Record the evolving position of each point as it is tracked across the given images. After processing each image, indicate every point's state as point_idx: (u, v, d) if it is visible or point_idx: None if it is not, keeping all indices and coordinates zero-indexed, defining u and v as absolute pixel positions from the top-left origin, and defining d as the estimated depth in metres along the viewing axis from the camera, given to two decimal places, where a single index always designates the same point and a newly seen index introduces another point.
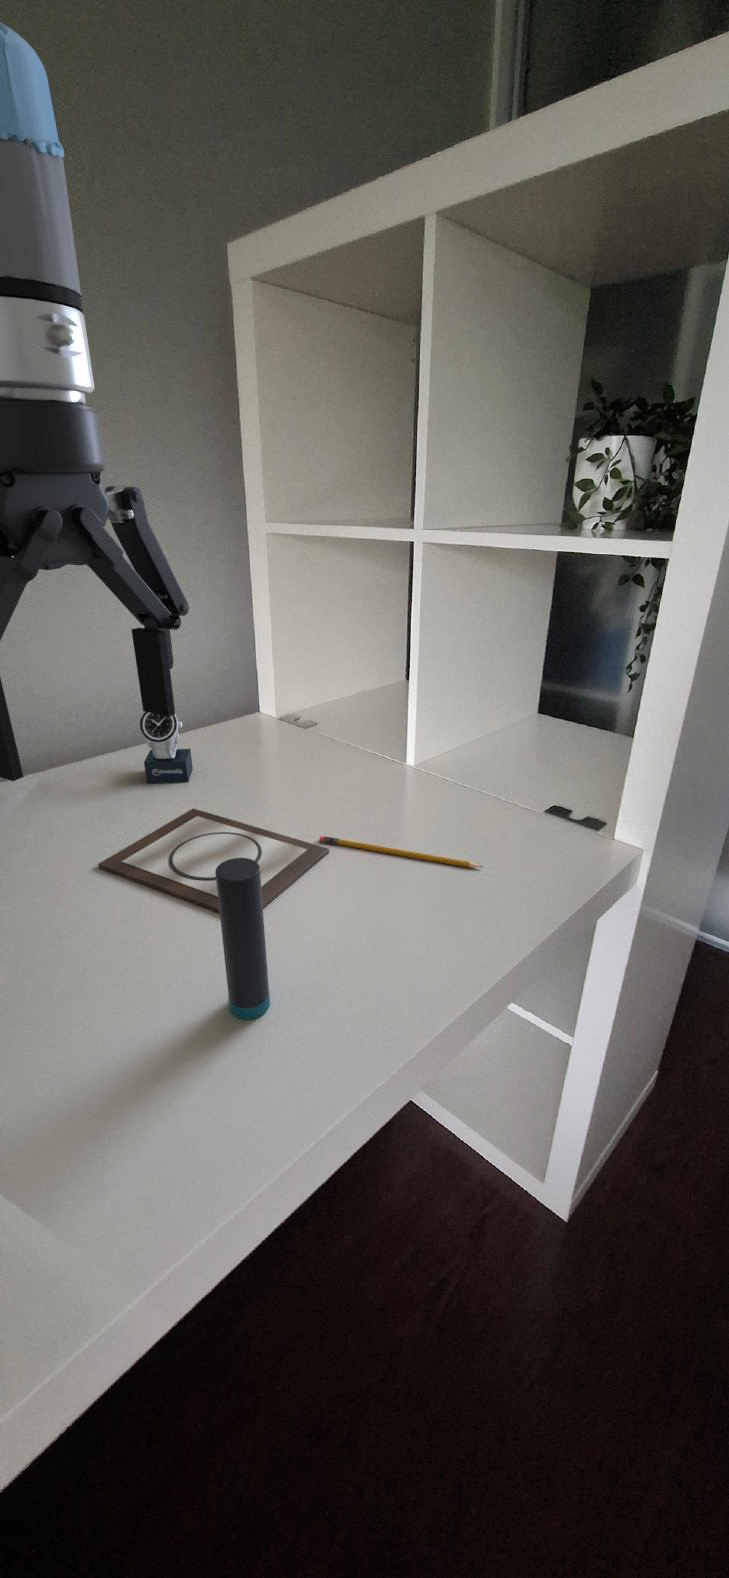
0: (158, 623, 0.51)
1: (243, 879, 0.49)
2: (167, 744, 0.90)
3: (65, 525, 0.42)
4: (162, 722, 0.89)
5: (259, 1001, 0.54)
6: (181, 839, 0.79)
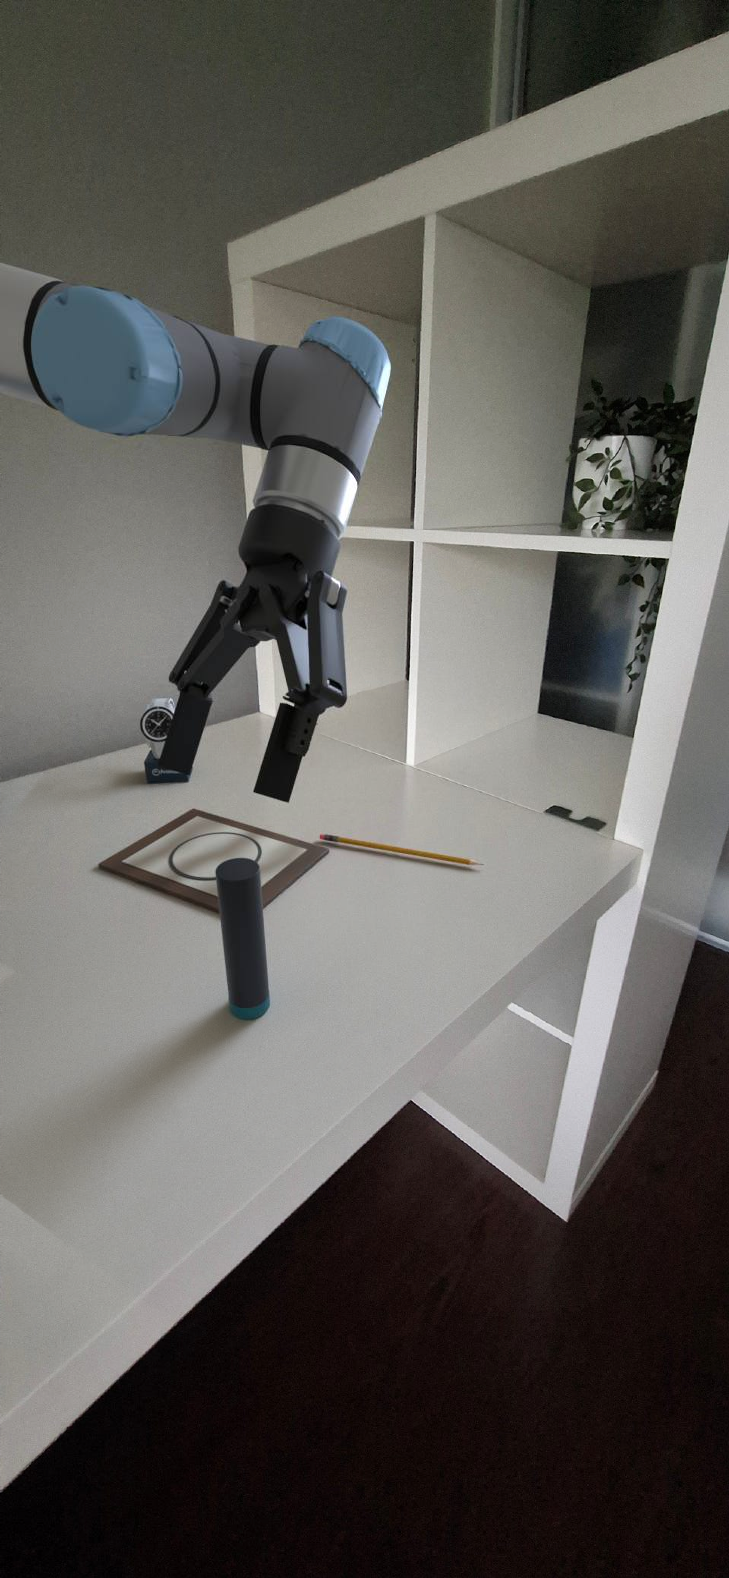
0: (206, 694, 0.59)
1: (243, 879, 0.49)
2: None
3: None
4: (162, 722, 0.89)
5: (259, 1001, 0.54)
6: (181, 839, 0.79)
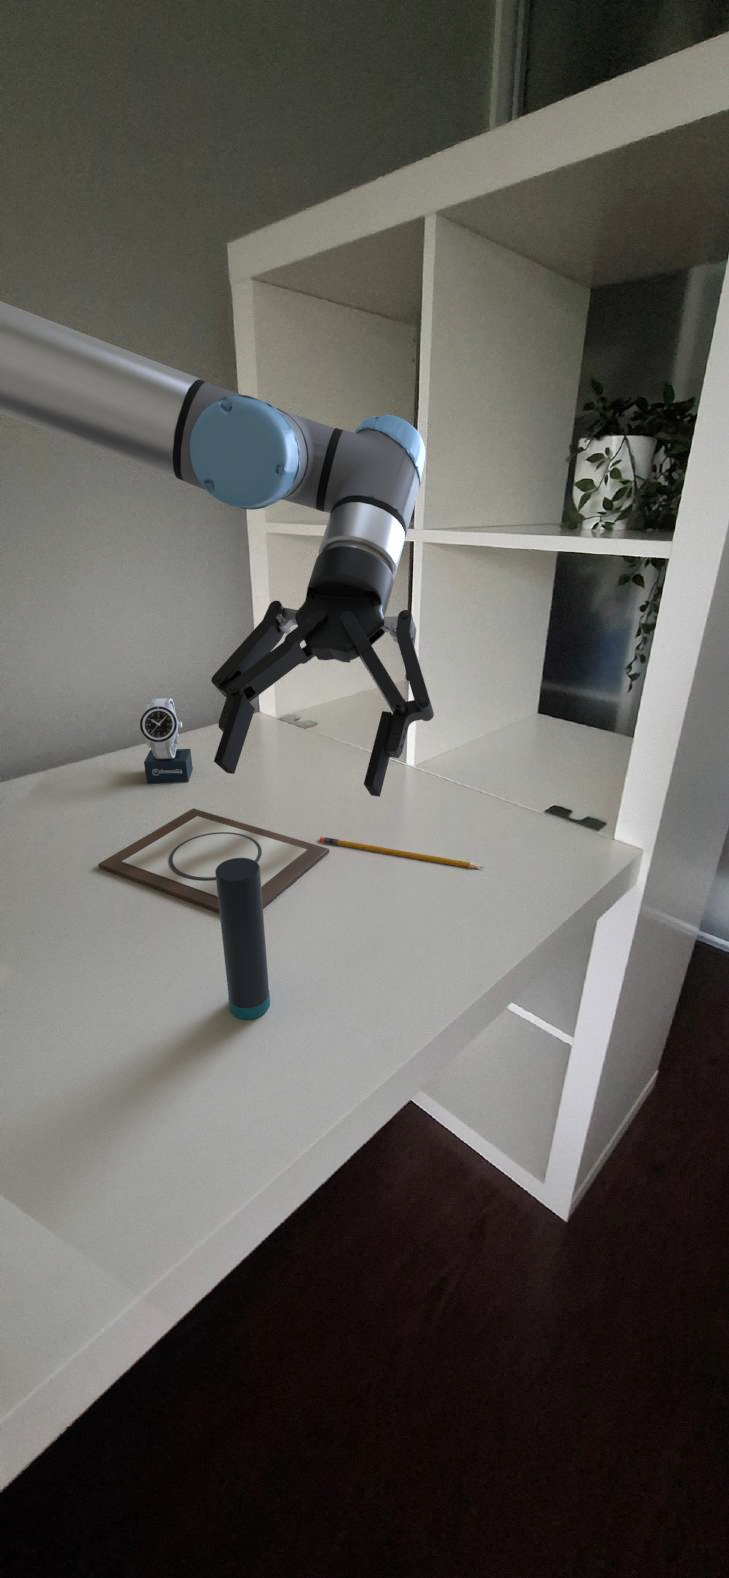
0: (249, 700, 0.63)
1: (243, 879, 0.49)
2: (167, 744, 0.90)
3: None
4: (162, 722, 0.89)
5: (259, 1001, 0.54)
6: (181, 839, 0.79)
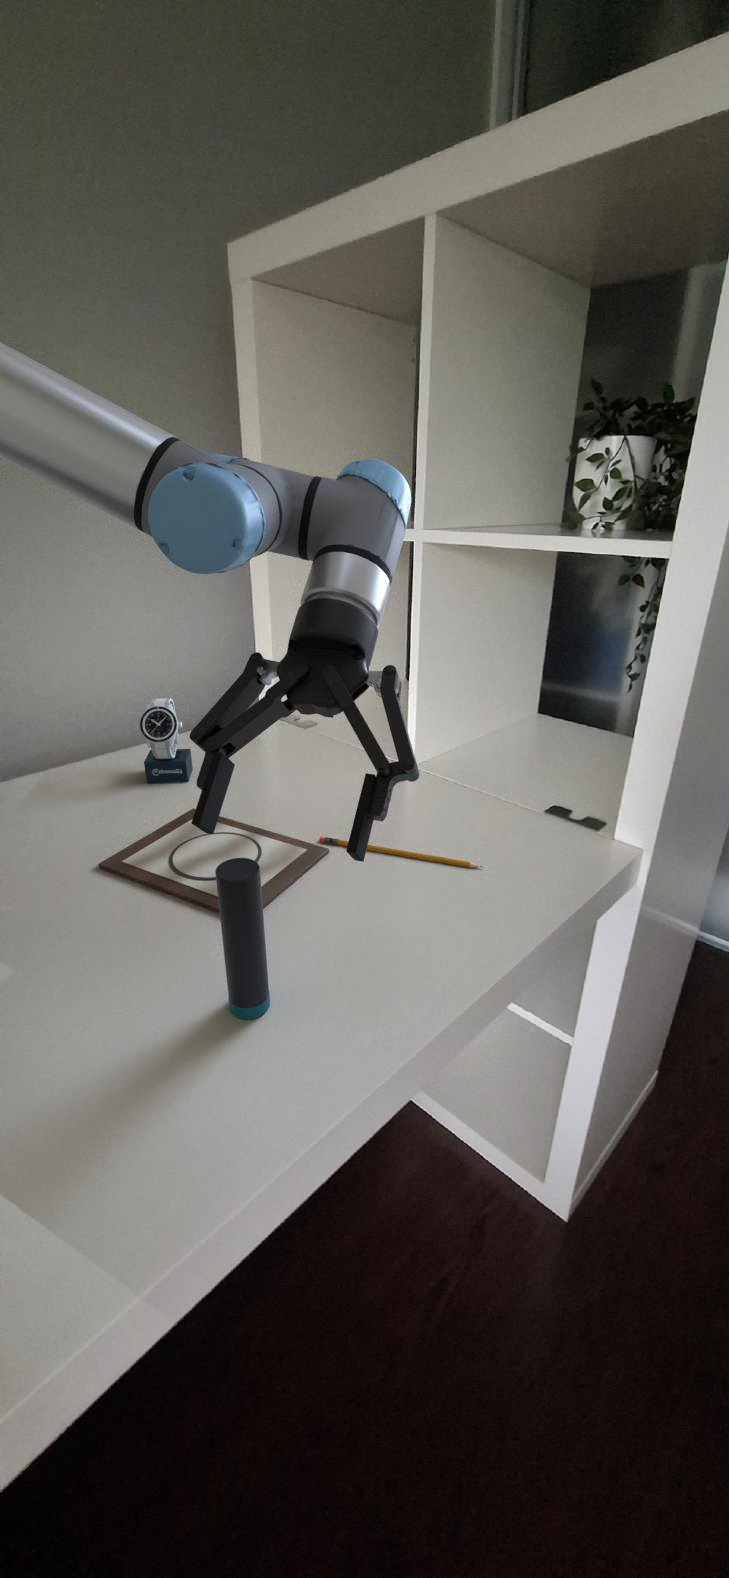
0: (228, 755, 0.61)
1: (243, 879, 0.49)
2: (167, 744, 0.90)
3: None
4: (162, 722, 0.89)
5: (259, 1001, 0.54)
6: (181, 839, 0.79)
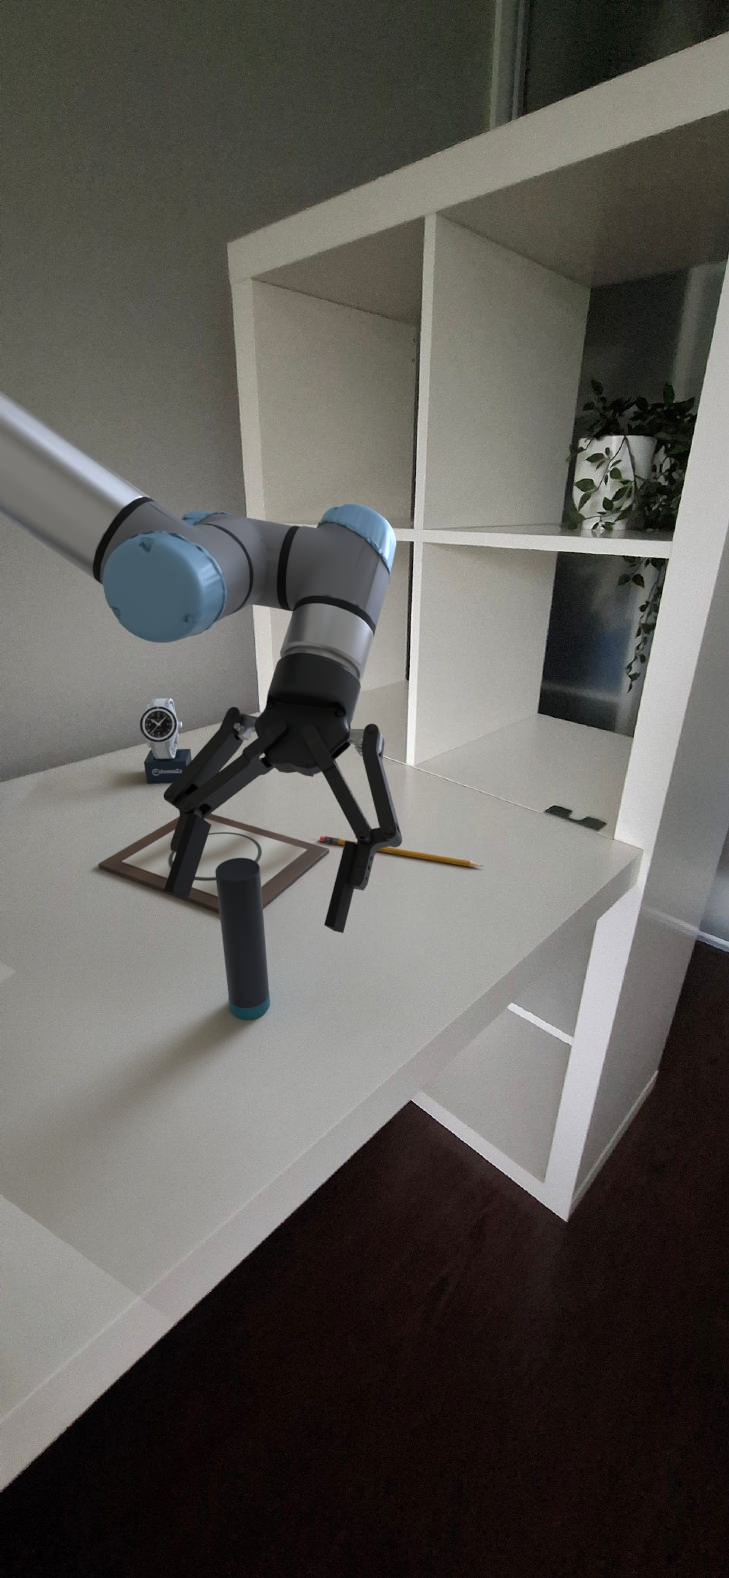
0: (204, 815, 0.58)
1: (243, 879, 0.49)
2: (167, 744, 0.90)
3: None
4: (162, 722, 0.89)
5: (259, 1001, 0.54)
6: None
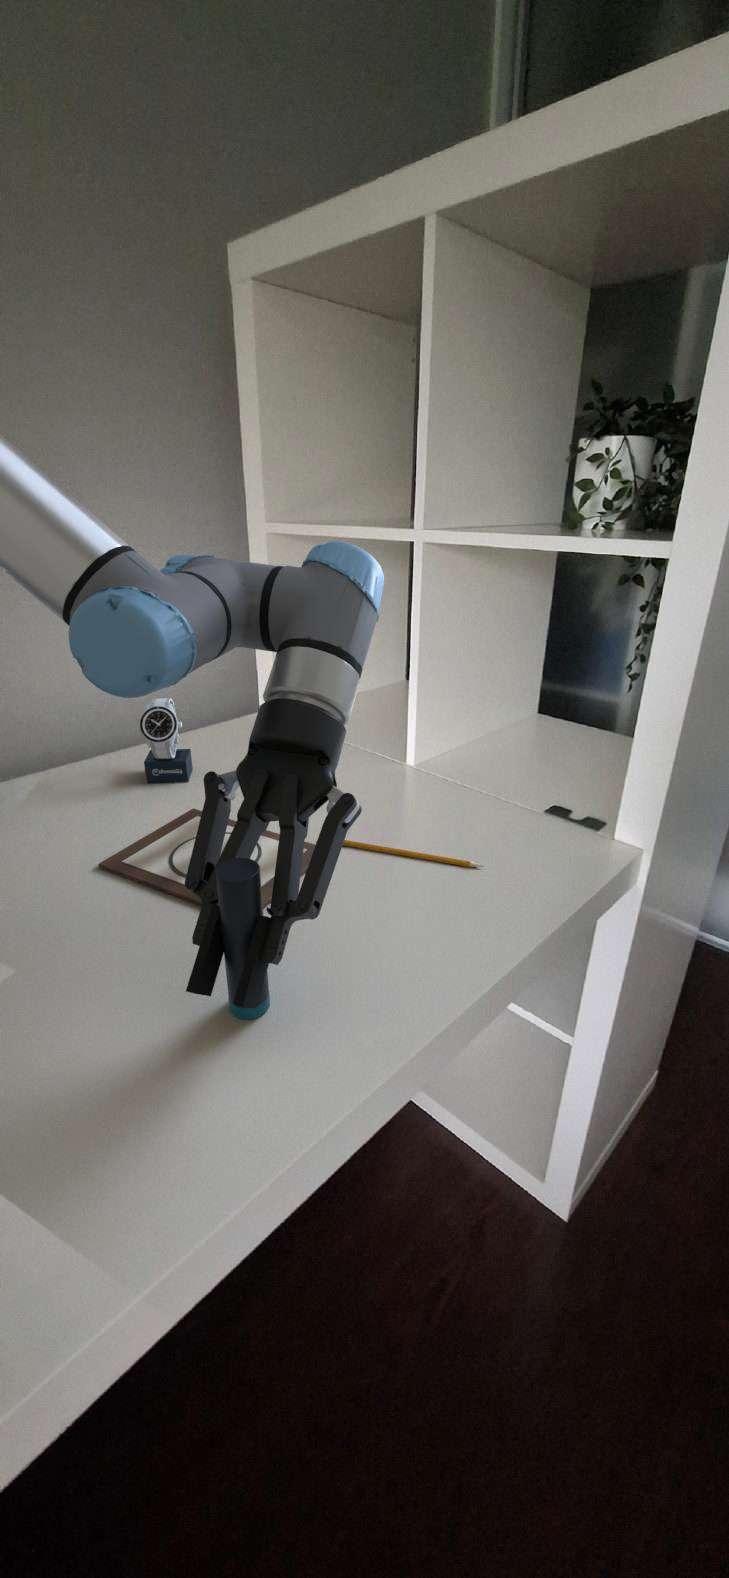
0: None
1: (243, 879, 0.49)
2: (167, 744, 0.90)
3: None
4: (162, 722, 0.89)
5: (259, 1001, 0.54)
6: (181, 839, 0.79)
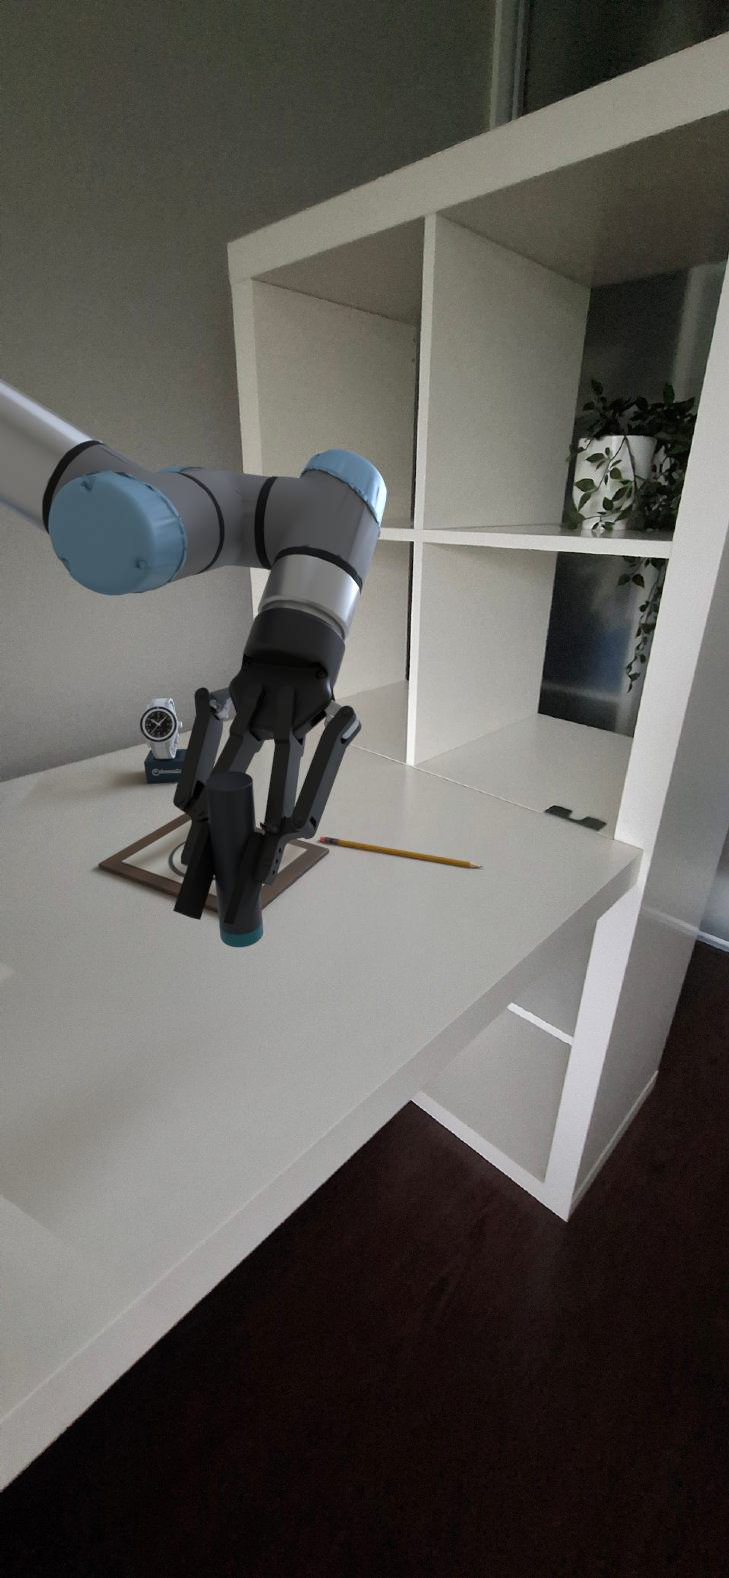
0: None
1: (234, 789, 0.46)
2: (167, 744, 0.90)
3: None
4: (162, 722, 0.89)
5: (251, 927, 0.51)
6: (181, 839, 0.79)
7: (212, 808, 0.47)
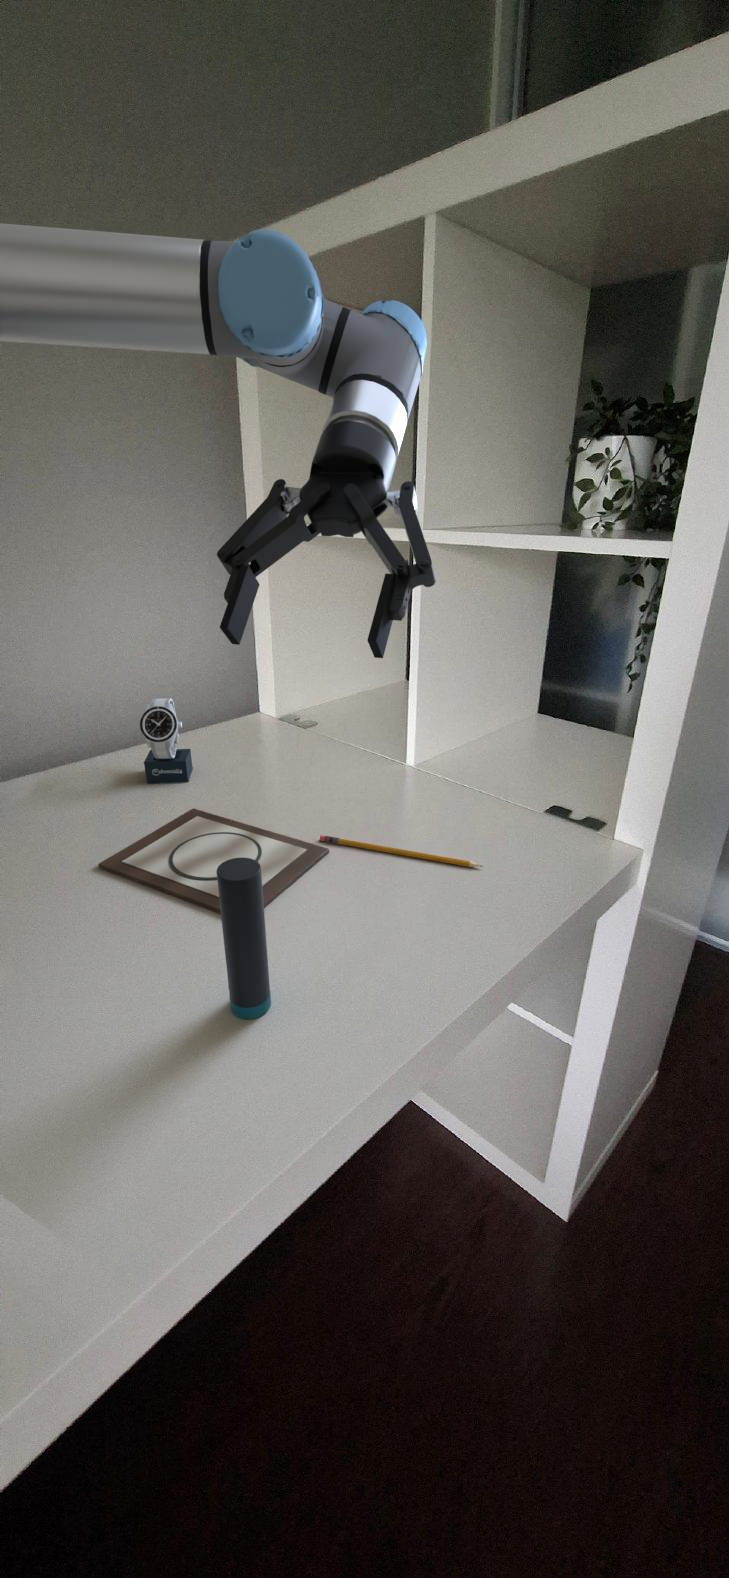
0: (253, 575, 0.64)
1: (244, 878, 0.49)
2: (167, 744, 0.90)
3: None
4: (162, 722, 0.89)
5: (260, 1000, 0.54)
6: (181, 839, 0.79)
7: (223, 895, 0.50)
